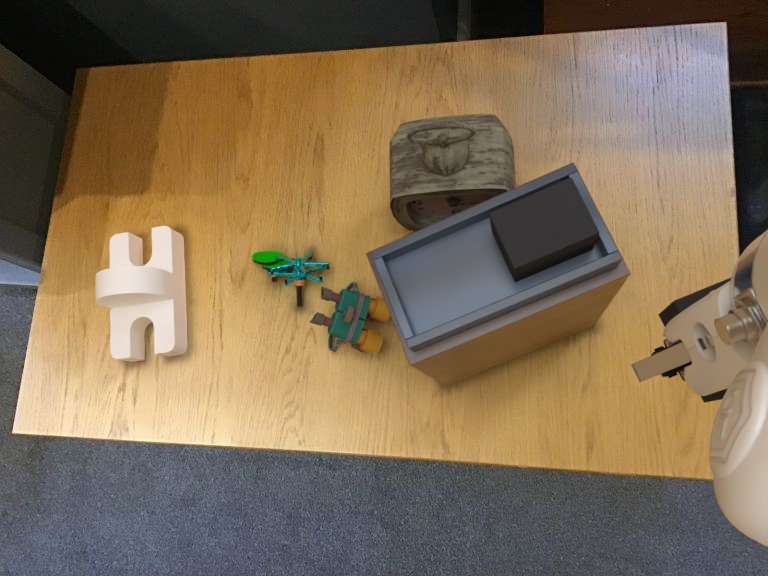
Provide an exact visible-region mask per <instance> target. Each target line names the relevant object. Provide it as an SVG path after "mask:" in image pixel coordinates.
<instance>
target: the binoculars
mask: <svg viewBox="0 0 768 576" xmlns="http://www.w3.org/2000/svg"><path fill="white" fill-rule="evenodd" d="M320 299H321V300H324V301H326V302H333V303H335V305H334V310H335V311H334V312H333V313H332V315H331V317H329V316H326V315H325V314H324V313H321V312H318V311H316V312H315V313H314V314H313V316H312V318H311V320H310V321H309V323H311V324H314V325H317V326H320V327H321V326H323V327H327V334H328V338H327V339H328V340H327V346H328V347H327V348H328V351H330V352H333V353H336V352H337V351H338V350H339V348H341V346H342V345H343V344H344V345H346V344H348V343H349V344H350V347H351V348H353V350H356V351H358V352H360V353H364V352H367V353H369V354H371V355H376V354H377V353H379V351H380V349H381V348H382V345H383V341H384V335H383V333H382V332H381V331H379V330H375V329H372V328H369V327H367V328H363V327H364V324H365V320H367V321H369V322H370V323H374V321H375V320H377V321H379V322H382V323H385V322H387V321H388V320H389V318H391V316H390V313H389V311H388V308H387V306H386V303H385V301H384V298H383V297H381V296H376V297H375V298H374V297H371V296H370V295H368V294H365V293H363V292H361V291H360V290H359V284H358V282H355V281H351V282H350V283H349V284H348V285H347V286H346V288H342V289H340V291H339V293H338V292H335V291H334V290H333V289H330V288H328V287H324V286H322V285H321V286H320ZM334 338H336V339H335V343H334Z"/></svg>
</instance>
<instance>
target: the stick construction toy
mask: <svg viewBox="0 0 768 576" xmlns="http://www.w3.org/2000/svg"><path fill="white" fill-rule="evenodd" d="M308 260H310V261H308ZM311 260H313V253H312V252H307V254H305V255H303V257H300V256H296V257H295V258H289V257H286V256H285V254H284V253H283V252H280V251H277V250H276V251H274V250H263V251H257V252H253V254H252V255H251V261H252V262H253V263H254V264H256V265H260V266H261V268H262V269H263V270H265V271H267V275H268V276H270V277H271V278H270V279H271V283H276V282H277V277H278V276H284V277H285V276H286V277H290V278H284V280H283V282H284V287H288V286H289V285H291V284H292V283H293V285H294V286H295V290H296V292H295V293H296V294H295V296H296V297H295V298H296V307H298V308H302V307H303V305H304V304H303V286H304V285H305V281H307V280H309V281H312V282H316V283H321V284H322V283H323V275H319V277H317V276H314V275H311V274H314V273H318V272H321V271H325V270H327V271H329V270H330V262H325V261H324V262H321V261H311ZM304 267H314V268H310V269H309V268H308V269H305V268H304ZM291 270H293V271H291Z"/></svg>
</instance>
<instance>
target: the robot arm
mask: <svg viewBox="0 0 768 576" xmlns="http://www.w3.org/2000/svg"><path fill="white" fill-rule="evenodd" d="M730 278H731V281H729V282H727V283H726V284H724V285H723V286H721V287H719V288H718V289H716V290H713V291H711V292H710V293H709V294H708V295H707V296H705V297H703V298H702V299H700V300H699V301H697V302H696V303H694V304H693V305H691V306H690V307H688V308H687V309H685V310H684V311H682V312H681V313H679V314H678V315H677V316H675V317H674V318H673V319H671V320H670V321H669V322H668V324H667V325H666V327H665V326H664V328H663V334H662V336H663V337H665V339H663V342H662V343H663V345H660V346H657V347H656V348H654V349H653V350H654V351H652V353H651V354H650V356H647V357H645V358H643V359H640V360H638V361H635V362H634V363H632V364H631V365H630V366H631V368H632V370H633V372H634V374H635V376H636V378H637V380H638V382H639V383H642V382H644V381H647V380H649V379H651V378H655V377H657V376H660V375H661V377H662V378H668V379H671V378H674V377H677V376H678V375H679V376H680V378H681V380H682V381H683V382H685V383H686V385H687V386H688V388H689V390H690V391H691V392H692V394H694V395H697V396H700V397H701V396H706V395H709V394H712V393H715V392H718V391H721V390H724V389H727V388H728V389H727V391H726V393H725V395H724V397H723V399H721V401H720V403H719V406H718V408H717V411H716V414H715V417H714V421H713V424H712V427H711V432H710V437H709V446H708V461H709V467H710V471H711V473H712V483H713V489H714V490H713V491H714V494H715V499H716V501H717V504H718V506H719V508H720V510H721V512H722V513H723V515H724V517H725V518H726V519H727V520H728V521H729V523H730V524H731V525H732V526H733V527H734V528H736V529H737V530H738V531H739V532H740V533H741V534H743V535H744V536H746V537H748V538H750V539H751V540H753V541H755V542H758V543H759V544H761V545H763V546H765V547H767V548H768V229H766V230H765V231H764V232H763V233H762V234H761V235H759V236H758V237H756V238H755V239H754V240H752V241H751V243H749V245H748V246H746V247H745V249H744V250H743V252H742V253H741V255H740V256H739V257H738V259H737V261H736V263H735V265H734V267H733V270H732V273H731V277H730Z"/></svg>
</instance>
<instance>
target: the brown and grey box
mask: <svg viewBox="0 0 768 576" xmlns="http://www.w3.org/2000/svg"><path fill="white" fill-rule="evenodd" d="M569 178H572V179H573V181H574V183H575V185H576V187H577V189H578V191H579V193H580V195H581V197H582V199H583V201H584V203H585V205H586V206H587V208H588V210H589V212H590V214H591V216H592V218H593V220H594V222H595V224H596V226H597V228H598V230H599V235H598V238H597V240H596V243H595V245H594V248H593V250H591V251H588V252H586V253H584V254H581V255H579V256H577V257H574V258H572V259H570V260H567V261H565V262H562V263H560V264H558V265H555V266H553V267H551V268H548V269H546V270H544V271H541V272H539V273H536V274H534V275H532V276H529V277H527V278H525V279H522V280H520V281H518V282H514V279H513V277H512V275H511V273H510V271H509V268H508V266H507V264H506V262H505V260H504V258H503V255H502V253H501V251H500V249H499V247H498V244H497V242H496V240H495V238H494V236H493V233H492V230H491V224H490V217H489V213H491V212H493V211H495V210H498V209H500V208H502V207H505V206H507V205H509V204H511V203H514V202H516V201H518V200H521V199H523V198H525V197H527V196H530V195H532V194H534V193H537V192H539V191H541V190H544V189H546V188H548V187H550V186H553V185H555V184H557V183H560V182H562V181H564V180H566V179H569ZM365 255H366V258H367V261H368V263H369V265H370V268H371V271H372V272H373V275H374V278H375V281H376V283H377V285H378V288H379V290H380V293H381V296H382V298H384V301H385V303H386V306H387V308H388V311H389V313H390V318H391V320H392V324H393V327H394V328H395V331H396V333H397V336H398V339H399V341H400V343H401V346H402V348H403V351H404V354H405V357H406V359H407V361H408V364H409V367H412V368H414V369H416V370H417V371H420V372H421V373H423V374H424V375H427V377H430V378H432V379H433V380H435V381H437V382H438V383H440V384H442V385H443V386H445V387H447V386H450V385H452V384H454V383H456V382H459V381H462V380H463V379H466V378H469V377H471V376H474V375H476V374H478V373H481V372H483V371H486V370H488V369H491V368H493V367H496V366H498V365H501V364H503V363H505V362H508V361H510V360H513V359H515V358H517V357H520V356H522V355H525V354H528V353H530V352H532V351H534V350H537V349H540V348H542V347H544V346H547V345H550V344H552V343H555V342H557V341H559V340H562V339H564V338H567V337H569V336H571V335H574V334H576V333H579V332H581V331H583V330H586V329H588V328H591V327H594V326H596V324H597V322H598V321H599V319H601V317H602V316H603V314H604V313H605V311H606V310H607V308H608V307H609V305H610V304H611V302H612V301H613V300H614V298H616V296H617V294H618V293H619V291H620V290H621V288H622V287H623V286H624V284H625V283H626V281H627V280H628V279H629V277H630V276H631V271H630V269H629V267H628V265H627V263H626V260H625V259H624V258H623V255H622V253H621V252H620V249H619V248H618V245H617V244H616V242H615V240H614V238H613V236H612V234H611V232H610V230H609V228H608V226H607V225H606V222H605V220H604V218H603V217H602V214H601V212H600V211H599V209H598V206H597V204H596V203H595V201H594V198H593V197H592V195H591V193H590V191H589V189H588V186H587V185H586V183H585V181H584V180H583V177H582V175H581V174H580V172H579V170H578V167H577V165H576V163H575V162H571V163H568V164H566V165H563V166H561V167H559V168H557V169H555V170H553V171H550V172H548V173H545V174H544V175H540V176H539V177H536V178H534V179H532V180H529V181H528V182H525V183H523V184H521V185H518V186H516V188H514V189H511V190H509V191H507V192H505V193H502V194H500V195H498V196H495V197H493V198H491V199H489V200H486V201H484V202H482V203H479V204H477V205H475V206H473V207H470V208H468V209H466V210H464V211H461V212H459V213H457V214H454V215H452V216H450V217H448V218H445V219H443V220H441V221H438V222H436V223H434V224H432V225H429V226H427V227H425V228H423V229H420V230H418V231H412V232H411V233H409V234H407V235H404V236H402V237H400V238H398V239H395V240H393V241H391V242H389V243H387V244H384V245H382V246H380V247H377V248H375V249H373V250H371V251H367V252H366V253H365Z"/></svg>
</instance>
